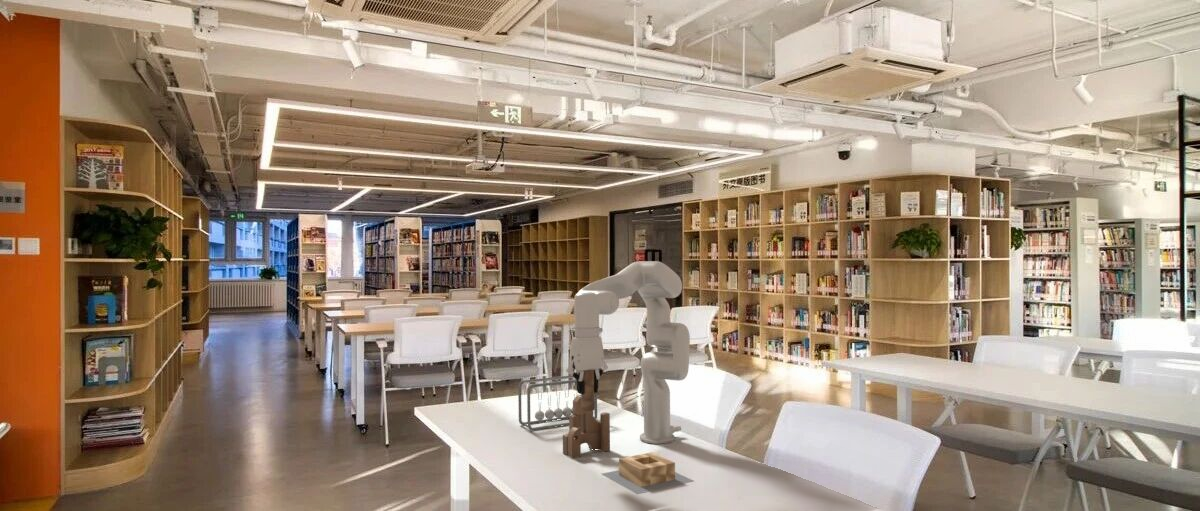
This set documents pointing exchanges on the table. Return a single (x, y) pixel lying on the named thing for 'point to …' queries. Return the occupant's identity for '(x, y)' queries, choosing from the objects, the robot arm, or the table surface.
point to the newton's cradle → (549, 413)
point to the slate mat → (637, 489)
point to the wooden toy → (586, 430)
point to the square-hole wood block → (646, 469)
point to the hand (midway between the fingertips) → (587, 392)
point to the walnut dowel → (588, 391)
